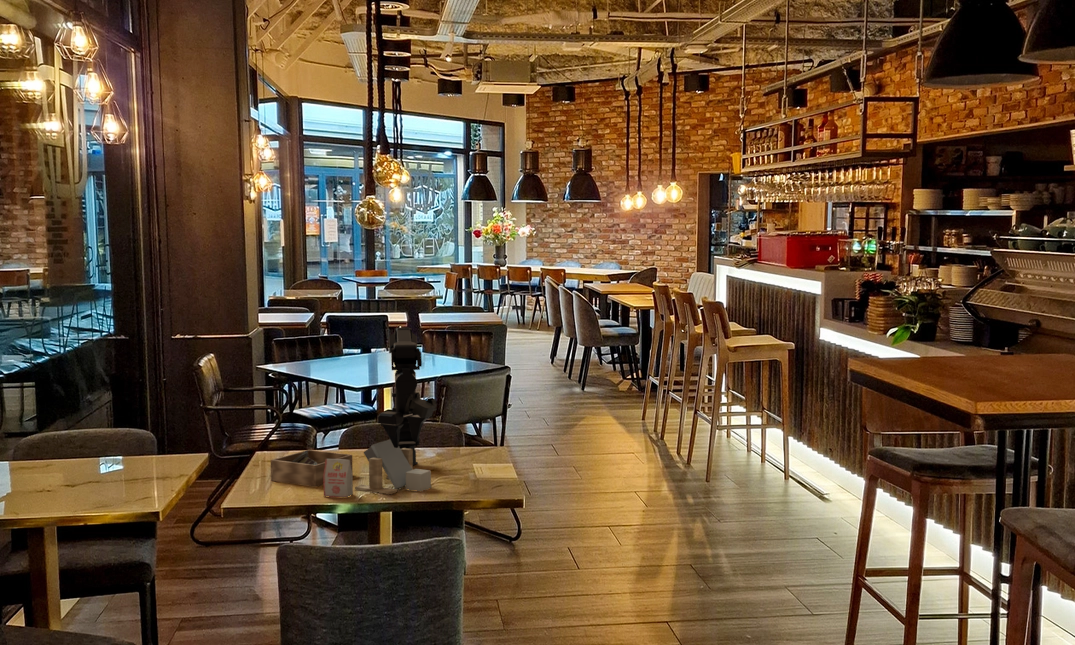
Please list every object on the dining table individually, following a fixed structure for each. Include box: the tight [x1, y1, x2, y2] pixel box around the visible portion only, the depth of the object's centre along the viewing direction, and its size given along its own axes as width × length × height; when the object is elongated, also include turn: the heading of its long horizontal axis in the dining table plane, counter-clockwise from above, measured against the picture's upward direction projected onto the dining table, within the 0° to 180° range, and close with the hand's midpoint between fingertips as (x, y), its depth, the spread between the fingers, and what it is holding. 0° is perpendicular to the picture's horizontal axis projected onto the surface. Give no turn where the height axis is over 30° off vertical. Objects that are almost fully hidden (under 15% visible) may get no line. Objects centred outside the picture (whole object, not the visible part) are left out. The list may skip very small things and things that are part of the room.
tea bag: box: [322, 459, 354, 498], centre depth 251 cm, size 4×7×10 cm, turn 79°
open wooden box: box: [270, 449, 354, 488], centre depth 272 cm, size 16×16×6 cm
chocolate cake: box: [292, 449, 317, 465], centre depth 273 cm, size 10×7×12 cm
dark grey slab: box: [363, 439, 412, 490], centre depth 262 cm, size 14×10×5 cm
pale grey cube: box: [405, 468, 432, 492], centre depth 259 cm, size 5×5×5 cm
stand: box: [354, 448, 414, 495], centre depth 262 cm, size 12×18×9 cm
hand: (405, 444), depth 260 cm, fingers open, 9 cm apart
